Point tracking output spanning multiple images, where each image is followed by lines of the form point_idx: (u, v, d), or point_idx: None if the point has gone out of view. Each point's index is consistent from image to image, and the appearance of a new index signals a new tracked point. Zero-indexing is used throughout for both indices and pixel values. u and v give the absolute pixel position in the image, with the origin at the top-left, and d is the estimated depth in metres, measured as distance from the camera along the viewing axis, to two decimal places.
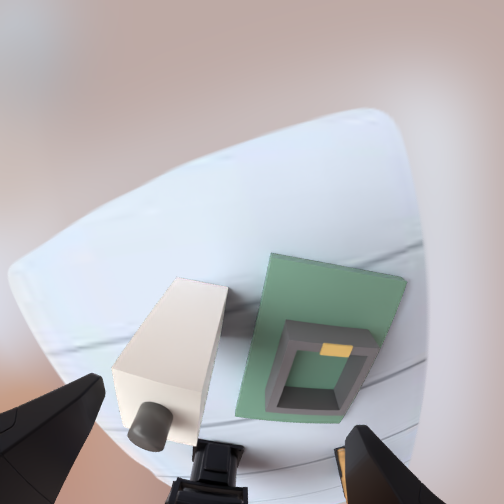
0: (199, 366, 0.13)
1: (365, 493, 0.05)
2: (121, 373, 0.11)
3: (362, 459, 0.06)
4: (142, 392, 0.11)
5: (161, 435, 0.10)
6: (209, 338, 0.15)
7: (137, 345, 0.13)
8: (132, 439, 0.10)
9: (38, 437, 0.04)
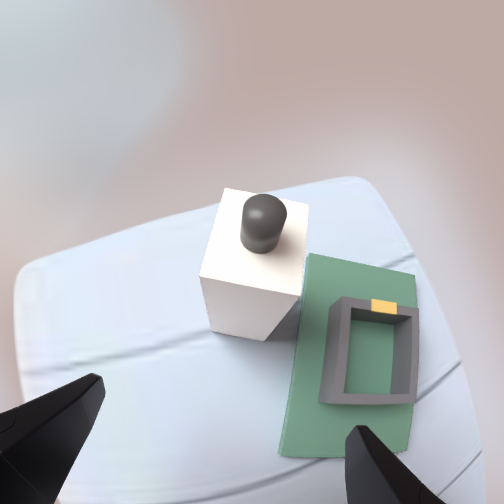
0: None
1: (365, 492, 0.05)
2: (233, 193, 0.14)
3: (362, 459, 0.06)
4: None
5: (282, 208, 0.12)
6: None
7: None
8: (247, 211, 0.11)
9: (38, 436, 0.04)
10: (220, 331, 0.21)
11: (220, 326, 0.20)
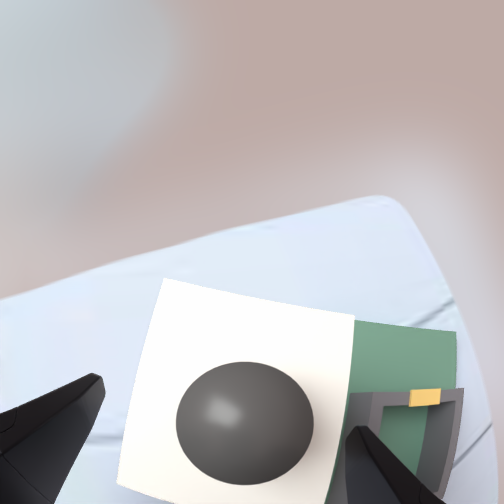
0: None
1: (365, 493, 0.05)
2: (183, 292, 0.06)
3: (362, 459, 0.06)
4: (220, 341, 0.05)
5: (301, 395, 0.03)
6: None
7: None
8: (190, 430, 0.03)
9: (38, 437, 0.04)
10: None
11: None
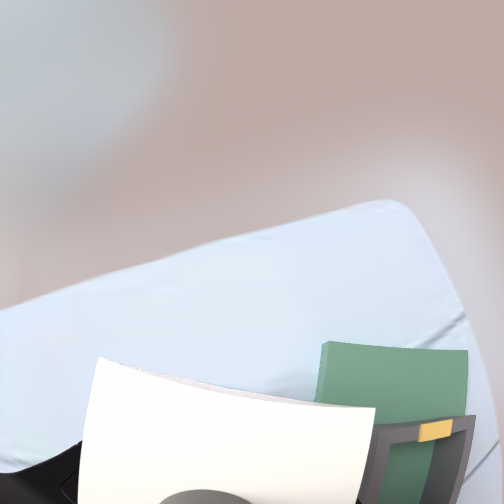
0: (318, 403, 0.05)
1: None
2: (124, 380, 0.03)
3: None
4: (179, 453, 0.03)
5: None
6: None
7: (161, 375, 0.05)
8: None
9: None
10: None
11: None
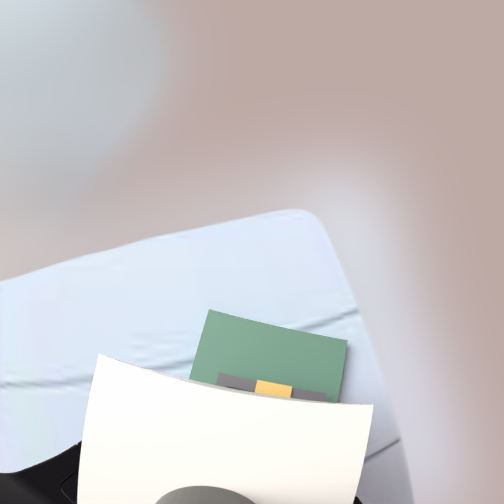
0: None
1: None
2: (124, 376, 0.04)
3: None
4: (178, 449, 0.03)
5: None
6: None
7: (160, 373, 0.06)
8: None
9: None
10: None
11: None
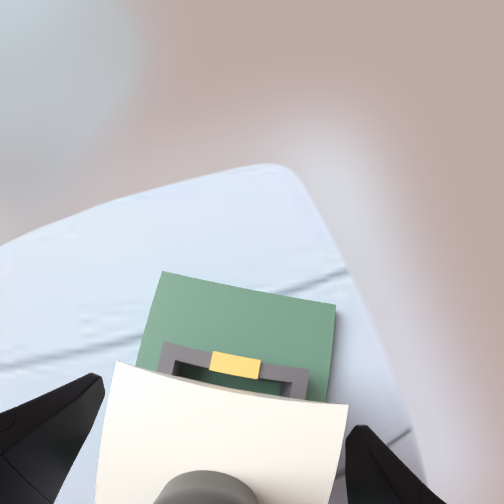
0: None
1: (365, 492, 0.05)
2: (138, 379, 0.04)
3: (362, 459, 0.06)
4: (184, 439, 0.04)
5: None
6: (286, 397, 0.08)
7: (166, 375, 0.06)
8: None
9: (37, 436, 0.04)
10: None
11: None
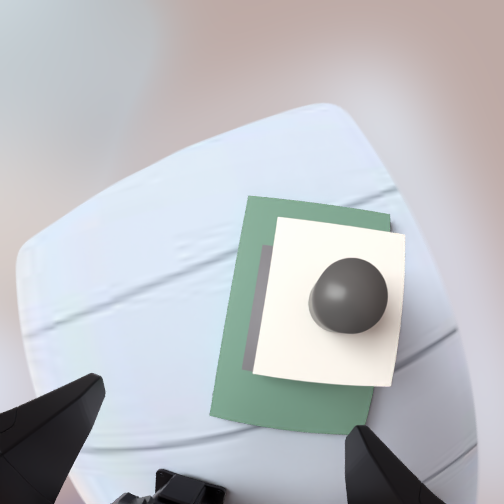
0: None
1: (365, 492, 0.05)
2: (292, 225, 0.09)
3: (362, 459, 0.06)
4: (322, 255, 0.08)
5: (379, 278, 0.06)
6: None
7: None
8: (324, 301, 0.06)
9: (38, 436, 0.04)
10: None
11: None
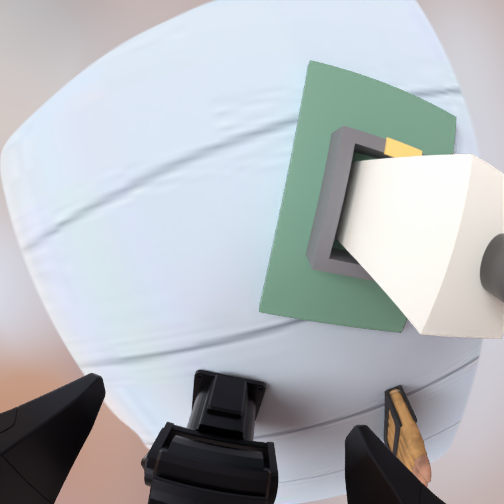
0: None
1: (365, 493, 0.05)
2: (482, 168, 0.05)
3: (362, 459, 0.06)
4: (499, 211, 0.05)
5: None
6: None
7: None
8: None
9: (38, 436, 0.04)
10: None
11: None
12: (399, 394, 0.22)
